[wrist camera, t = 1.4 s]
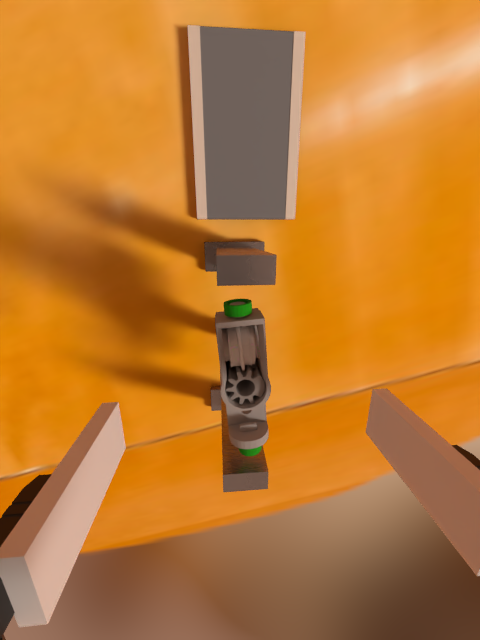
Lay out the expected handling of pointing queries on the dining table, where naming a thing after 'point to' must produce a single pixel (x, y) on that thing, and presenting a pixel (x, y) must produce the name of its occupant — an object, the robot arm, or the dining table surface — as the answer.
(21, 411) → the dining table surface
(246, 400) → the mechanical component
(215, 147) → the mat
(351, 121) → the dining table surface
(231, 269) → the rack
